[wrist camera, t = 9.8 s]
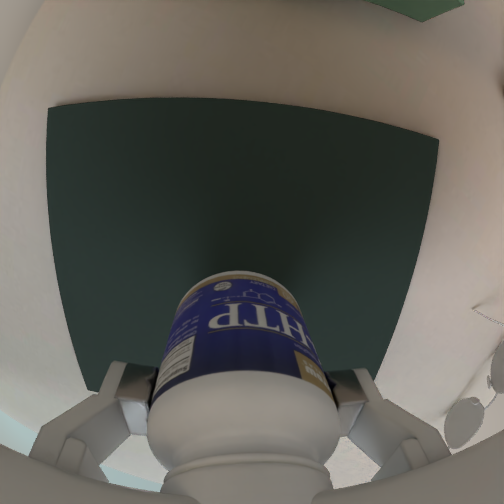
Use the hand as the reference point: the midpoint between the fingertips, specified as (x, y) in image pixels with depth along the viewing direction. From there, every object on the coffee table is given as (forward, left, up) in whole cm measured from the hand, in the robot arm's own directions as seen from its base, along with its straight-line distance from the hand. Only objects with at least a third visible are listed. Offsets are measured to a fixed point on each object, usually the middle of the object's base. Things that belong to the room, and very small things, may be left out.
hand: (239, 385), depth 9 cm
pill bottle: (0, 0, -4) cm, 4 cm away
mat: (0, 0, -7) cm, 7 cm away
